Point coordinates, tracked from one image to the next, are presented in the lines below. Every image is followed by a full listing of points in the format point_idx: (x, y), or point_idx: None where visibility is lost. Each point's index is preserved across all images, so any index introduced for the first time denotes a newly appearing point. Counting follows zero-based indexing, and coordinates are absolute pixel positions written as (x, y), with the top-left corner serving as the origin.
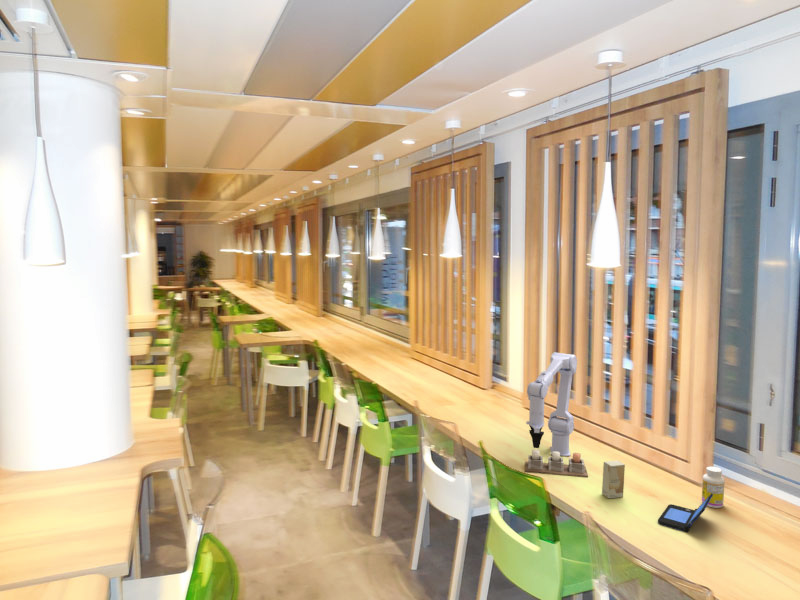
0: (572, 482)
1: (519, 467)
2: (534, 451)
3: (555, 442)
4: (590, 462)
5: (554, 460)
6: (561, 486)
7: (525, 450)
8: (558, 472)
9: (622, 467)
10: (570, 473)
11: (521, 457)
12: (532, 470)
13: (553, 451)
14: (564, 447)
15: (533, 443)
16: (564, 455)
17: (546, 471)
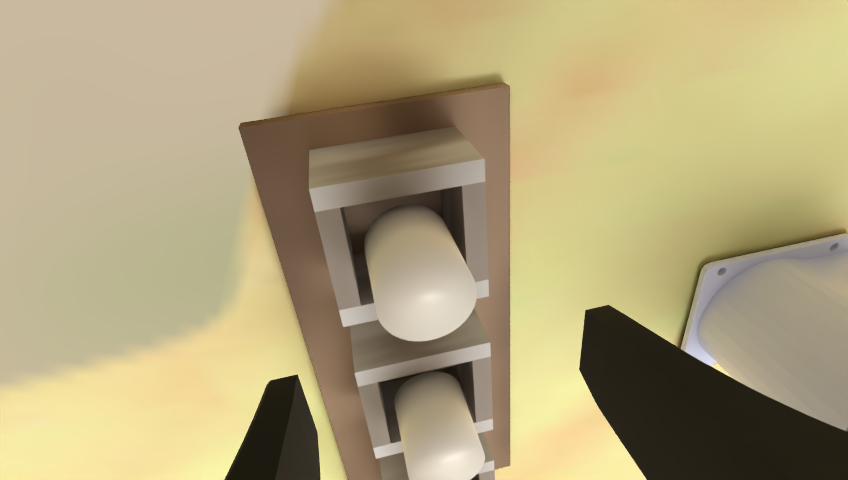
0: (219, 459)
1: (348, 37)
2: (400, 293)
3: (797, 349)
4: (590, 458)
5: (396, 404)
6: (90, 428)
7: (828, 35)
8: (335, 377)
9: None
10: (351, 435)
11: (645, 18)
12: (279, 195)
13: (469, 444)
14: (738, 379)
15: (244, 456)
16: (684, 341)
17: (315, 304)
